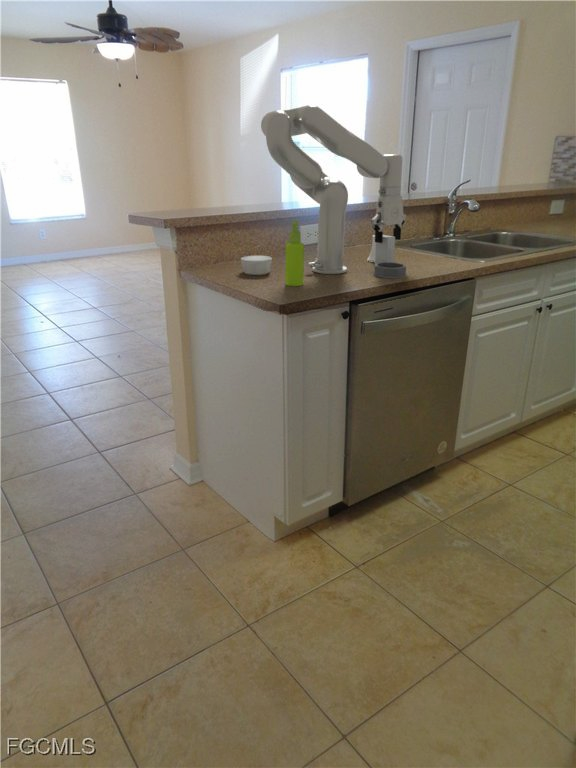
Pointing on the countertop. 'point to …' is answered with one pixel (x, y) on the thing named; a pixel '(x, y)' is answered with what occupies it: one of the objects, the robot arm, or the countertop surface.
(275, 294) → the countertop surface
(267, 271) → the ramekin
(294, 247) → the soap dispenser
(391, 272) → the cap collar
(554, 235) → the countertop surface
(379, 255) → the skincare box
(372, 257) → the salt shaker
